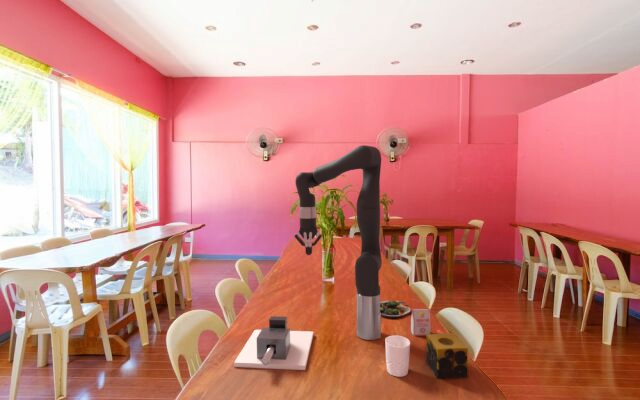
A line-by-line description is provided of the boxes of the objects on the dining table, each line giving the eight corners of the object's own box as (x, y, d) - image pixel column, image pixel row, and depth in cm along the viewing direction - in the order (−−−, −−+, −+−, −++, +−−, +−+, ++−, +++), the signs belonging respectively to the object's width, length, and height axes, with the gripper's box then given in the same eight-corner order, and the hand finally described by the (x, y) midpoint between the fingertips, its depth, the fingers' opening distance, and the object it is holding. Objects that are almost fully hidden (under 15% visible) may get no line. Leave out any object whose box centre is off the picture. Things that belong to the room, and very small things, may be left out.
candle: (454, 360, 112) (455, 332, 111) (469, 378, 102) (469, 347, 101) (425, 361, 112) (425, 333, 111) (436, 379, 101) (437, 348, 101)
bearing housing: (290, 347, 119) (289, 328, 118) (285, 359, 111) (285, 339, 110) (263, 346, 119) (262, 327, 119) (257, 358, 112) (256, 338, 111)
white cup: (392, 380, 101) (392, 348, 101) (380, 366, 109) (380, 337, 108) (414, 375, 103) (415, 345, 103) (401, 362, 111) (402, 333, 110)
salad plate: (392, 300, 169) (392, 291, 168) (420, 312, 154) (420, 302, 153) (363, 308, 158) (363, 299, 158) (390, 322, 143) (390, 311, 143)
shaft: (287, 340, 123) (286, 316, 123) (274, 371, 103) (274, 343, 103) (271, 339, 124) (271, 316, 123) (256, 370, 104) (255, 342, 103)
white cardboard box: (410, 331, 134) (411, 307, 133) (427, 331, 134) (427, 307, 133) (413, 335, 130) (413, 311, 129) (430, 335, 130) (430, 311, 129)
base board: (313, 335, 131) (313, 331, 131) (305, 370, 107) (305, 365, 107) (255, 333, 133) (255, 329, 133) (234, 366, 109) (234, 362, 109)
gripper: (291, 218, 144) (293, 256, 145) (321, 217, 142) (322, 256, 143) (294, 216, 151) (296, 253, 152) (323, 215, 150) (324, 253, 151)
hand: (309, 254), depth 148 cm, fingers closed
